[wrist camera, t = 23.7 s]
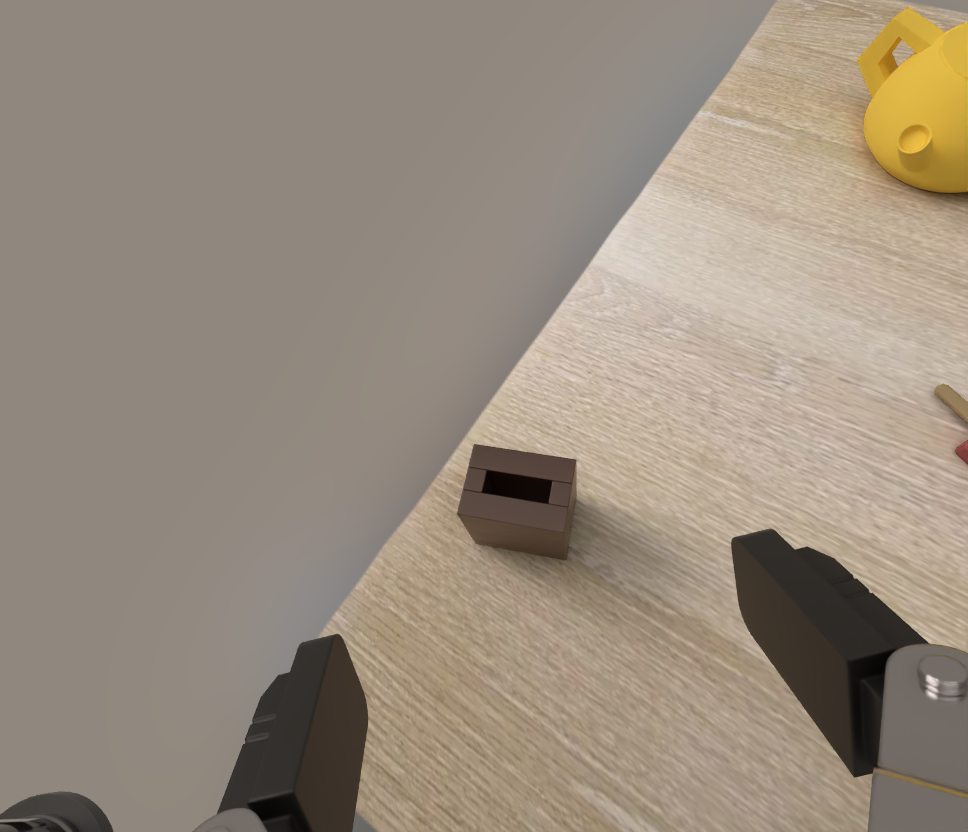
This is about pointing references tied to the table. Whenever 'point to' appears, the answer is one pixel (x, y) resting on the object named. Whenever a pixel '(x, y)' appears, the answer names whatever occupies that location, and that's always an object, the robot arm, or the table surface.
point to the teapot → (919, 103)
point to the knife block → (519, 500)
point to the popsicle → (959, 406)
